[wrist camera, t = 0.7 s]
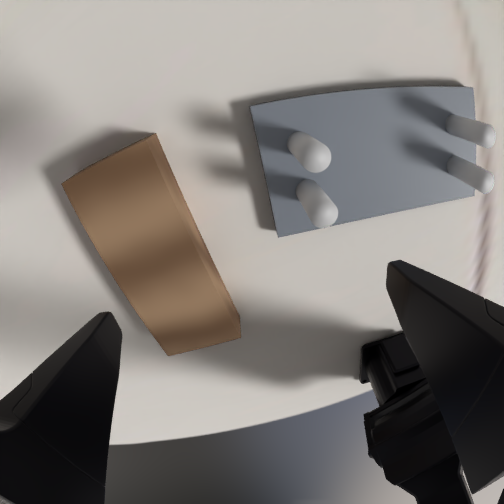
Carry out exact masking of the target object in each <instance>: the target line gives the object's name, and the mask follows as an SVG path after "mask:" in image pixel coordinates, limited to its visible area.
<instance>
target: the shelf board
mask: <svg viewBox="0 0 504 504" xmlns="http://www.w3.org/2000/svg"><path fill="white" fill-rule="evenodd" d="M62 186H63V188H64V190H65V192H66V194H67V196H68V198H69V200H70V202H71V204H72V206H73V208H74V210H75V212H76V214H77V215H78V217H79V219H80V221H81V223H82V225H83V226H84V228H85V230H86V232H87V234H88V235H89V237H90V239H91V241H92V242H93V244H94V246H95V248H96V249H97V251H98V253H99V254H100V256H101V258H102V259H103V261H104V263H105V264H106V266H107V268H108V269H109V271H110V272H111V274H112V276H113V277H114V279H115V280H116V282H117V284H118V285H119V287H120V288H121V290H122V291H123V293H124V294H125V296H126V297H127V299H128V300H129V302H130V303H131V305H132V306H133V308H134V309H135V311H136V312H137V314H138V315H139V317H140V318H141V320H142V321H143V322H144V324H145V325H146V327H147V328H148V329H149V331H150V332H151V334H152V335H153V336H154V338H155V339H156V340H157V342H158V343H159V345H160V346H161V347H162V349H163V350H164V351H165V353H166V354H167V355H168V356H171V355H175V354H180V353H184V352H188V351H192V350H196V349H200V348H204V347H208V346H212V345H216V344H219V343H223V342H227V341H231V340H234V339H238V338H241V328H240V316H239V314H238V312H237V310H236V308H235V306H234V304H233V302H232V299H231V297H230V295H229V293H228V291H227V289H226V287H225V285H224V283H223V281H222V279H221V277H220V275H219V272H218V270H217V268H216V266H215V264H214V262H213V260H212V258H211V256H210V253H209V251H208V249H207V247H206V245H205V243H204V241H203V238H202V236H201V234H200V232H199V230H198V228H197V225H196V223H195V221H194V219H193V217H192V214H191V212H190V210H189V208H188V206H187V203H186V201H185V199H184V197H183V195H182V192H181V190H180V188H179V186H178V183H177V181H176V179H175V176H174V174H173V172H172V170H171V167H170V165H169V163H168V160H167V158H166V156H165V153H164V151H163V149H162V146H161V144H160V142H159V139H158V137H157V135H156V133H155V134H153V135H151V136H149V137H147V138H144V139H142V140H140V141H138V142H136V143H134V144H132V145H130V146H127V147H125V148H123V149H121V150H119V151H117V152H115V153H113V154H111V155H110V156H108V157H106V158H104V159H102V160H100V161H98V162H96V163H94V164H92V165H91V166H89V167H87V168H85V169H83V170H82V171H80V172H78V173H76V174H75V175H73V176H72V177H71V178H69V179H68V180H66V181H65V182H63V183H62Z"/></svg>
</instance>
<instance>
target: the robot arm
mask: <svg viewBox="0 0 504 504" xmlns="http://www.w3.org/2000/svg"><path fill="white" fill-rule="evenodd" d="M386 288H387V291H388V294H389V296H390V299H391V301H392V304H393V307H394V309H395V312H396V314H397V317H398V320H399V322H400V325H401V327H402V329H403V332H404V333H402V334H399V335H396V336H393V337H390V338H386V339H383V340H380V341H376V342H373V343H370V344H366V345H364V346H363V347H362V348H361V365H360V382H361V383H362V384H364V383H368V382H370V383H371V386H372V388H373V391H374V393H375V396H376V398H377V401H378V403H379V406H380V407H378V408H376V409H374V410H372V411H371V412H367V413H365V414H364V420H365V421H364V425H365V431H366V437H367V443H368V455H369V457H370V458H373V459H374V460H375V461H376V463H377V464H378V465H379V466H380V467H381V468H383V470H384V473H385V477H386V479H387V480H388V481H389V482H390V483H392V484H393V485H397V486H399V487H401V488H402V489H404V490H405V491H407V492H408V493H410V494H411V495H413V496H414V497H415V498H416V501H417V504H474V503H473V499H472V497H471V494H470V491H471V493H472V494H474V493H476V492H478V491H480V490H482V489H483V488H485V487H487V486H488V485H490V484H492V483H493V482H495V481H497V480H498V479H500V478H501V477H503V476H504V307H503V306H500V305H498V304H496V303H494V302H492V301H490V300H488V299H484V297H482V296H479V295H477V294H475V293H473V292H471V291H469V290H467V289H465V288H462V287H460V286H458V285H456V284H454V283H451V282H449V281H447V280H445V279H443V278H440V277H438V276H436V275H434V274H432V273H429V272H427V271H425V270H423V269H420V268H418V267H416V266H413V265H411V264H409V263H407V262H404V261H402V260H396V261H392V262H389V263H388V266H387V278H386ZM121 344H122V332H121V329H120V327H119V325H118V323H117V322H116V320H115V318H114V316H113V314H112V313H111V312H101V313H99V314H97V315H96V316H95V317H94V318H93V319H91V320H90V321H89V322H88V323H87V324H86V325H84V326H83V327H82V328H81V329H80V330H79V331H78V332H76V333H75V334H74V335H73V336H72V337H71V338H70V339H68V340H67V341H66V342H65V343H64V344H63V345H62V346H61V347H59V348H58V349H57V350H56V351H55V352H54V353H53V354H52V355H51V356H49V357H48V358H47V359H46V360H45V361H44V362H43V363H42V364H41V365H40V366H38V367H37V368H36V369H35V370H34V371H33V373H31V374H30V375H29V376H28V377H27V378H25V379H24V380H23V381H22V382H21V383H20V384H19V385H18V386H17V387H16V388H14V389H13V390H12V391H11V392H10V393H8V394H7V395H6V396H5V397H4V398H3V399H1V400H0V504H104V501H105V487H104V486H105V483H106V470H107V458H108V449H109V440H110V432H111V424H112V417H113V410H114V403H115V396H116V390H117V384H118V378H119V369H120V355H121ZM463 470H464V473H465V476H466V479H467V482H468V485H469V488H470V491H469V489H468V486H467V484H466V481H465V479H464V476H463ZM498 504H504V489H503V491H502V494H501V496H500V499H499V501H498Z"/></svg>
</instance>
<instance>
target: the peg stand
mask: <svg viewBox="0 0 504 504" xmlns="http://www.w3.org/2000/svg"><path fill="white" fill-rule="evenodd" d="M249 107H250V111H251V115H252V120H253V124H254V128H255V133H256V137H257V142H258V146H259V151H260V156H261V160H262V165H263V169H264V174H265V179H266V183H267V188H268V193H269V198H270V203H271V207H272V212H273V217H274V222H275V227H276V232H277V235H278V238H279V237H283V236H288V235H293V234H297V233H302V232H306V231H311V230H315V229H320V228H326V227H329V226H334V225H339V224H343V223H348V222H352V221H357V220H362V219H366V218H371V217H376V216H380V215H385V214H390V213H395V212H399V211H404V210H409V209H414V208H418V207H423V206H428V205H433V204H437V203H442V202H447V201H452V200H457V199H462V198H466V197H471V196H474V195H475V189H477V190H478V191H480V192H482V193H483V194H487V193H489V192H490V191H491V190H492V188H493V186H494V176H493V174H492V173H491V172H490V171H488V170H486V169H484V168H482V167H480V166H477V165H476V144H477V145H480V146H482V147H485V148H491V147H492V146H493V145H494V143H495V139H496V133H495V130H494V128H493V126H491V125H489V124H486V123H483V122H479V121H476V120H475V103H474V91H473V88H472V87H464V86H402V87H382V88H368V89H357V90H346V91H337V92H329V93H321V94H314V95H307V96H300V97H294V98H288V99H282V100H277V101H271V102H266V103H261V104H256V105H251V106H249Z"/></svg>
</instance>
